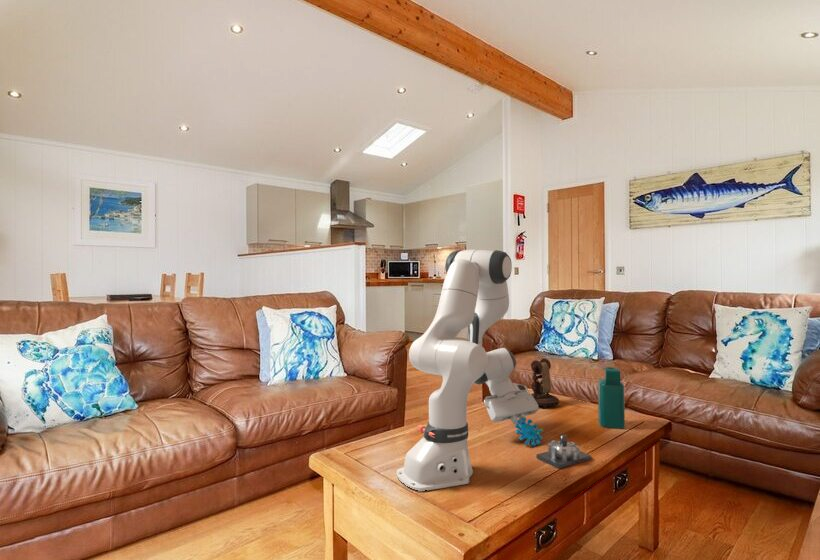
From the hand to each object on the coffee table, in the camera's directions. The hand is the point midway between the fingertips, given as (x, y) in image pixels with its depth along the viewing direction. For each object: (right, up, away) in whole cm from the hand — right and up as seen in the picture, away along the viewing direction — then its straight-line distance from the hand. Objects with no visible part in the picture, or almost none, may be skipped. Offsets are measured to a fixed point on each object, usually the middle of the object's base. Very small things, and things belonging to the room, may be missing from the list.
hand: (523, 428), depth 153 cm
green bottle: (+37, -4, +14) cm, 40 cm away
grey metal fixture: (+8, -4, -16) cm, 18 cm away
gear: (+1, -4, -2) cm, 5 cm away
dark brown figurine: (+19, -4, +43) cm, 47 cm away
